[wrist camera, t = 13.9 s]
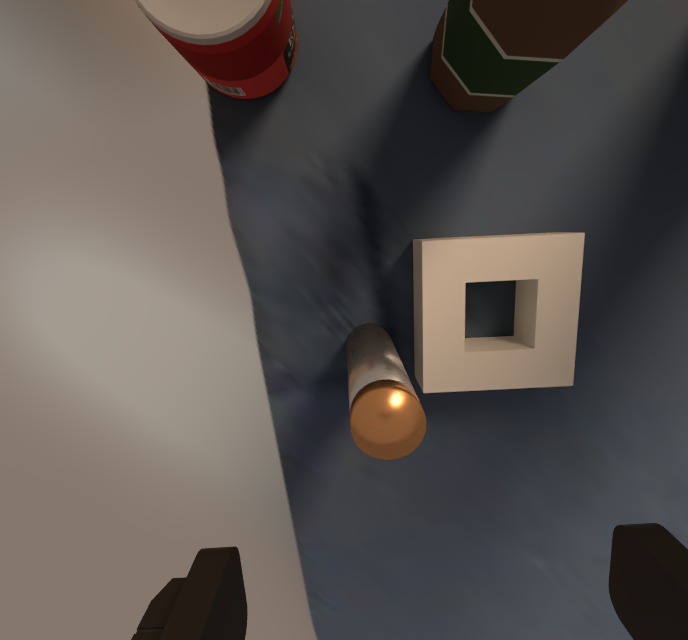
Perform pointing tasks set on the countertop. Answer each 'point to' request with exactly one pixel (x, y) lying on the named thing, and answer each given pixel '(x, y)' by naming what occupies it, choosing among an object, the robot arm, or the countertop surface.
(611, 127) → the countertop surface
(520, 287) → the socket block
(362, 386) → the plug
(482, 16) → the beer bottle
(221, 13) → the canned food
